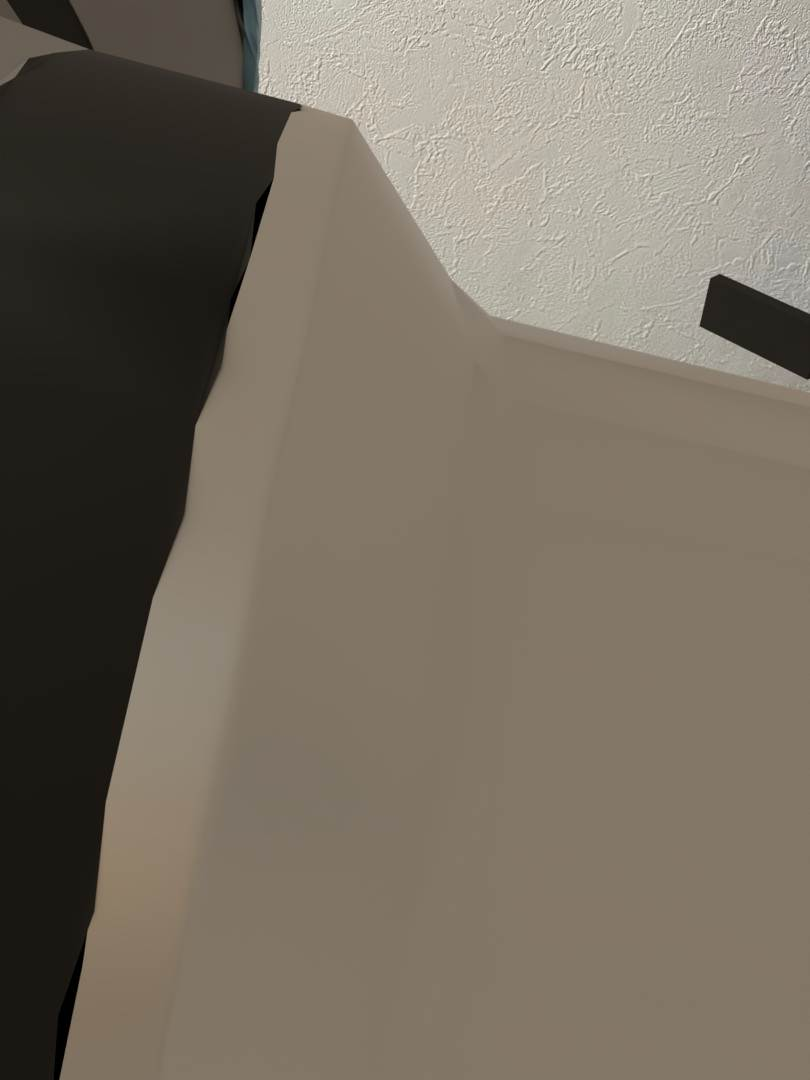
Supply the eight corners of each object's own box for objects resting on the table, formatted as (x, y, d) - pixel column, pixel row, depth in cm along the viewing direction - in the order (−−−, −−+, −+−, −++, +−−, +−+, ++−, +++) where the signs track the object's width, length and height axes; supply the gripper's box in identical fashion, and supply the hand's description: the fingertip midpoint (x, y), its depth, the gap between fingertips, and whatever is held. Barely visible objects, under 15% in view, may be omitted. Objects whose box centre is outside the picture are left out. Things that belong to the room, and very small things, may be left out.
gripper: (833, 845, 31) (413, 506, 43) (1166, 525, 42) (759, 331, 54) (918, 693, 26) (414, 358, 38) (1270, 377, 37) (795, 200, 49)
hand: (617, 342), depth 46 cm, fingers open, 13 cm apart
